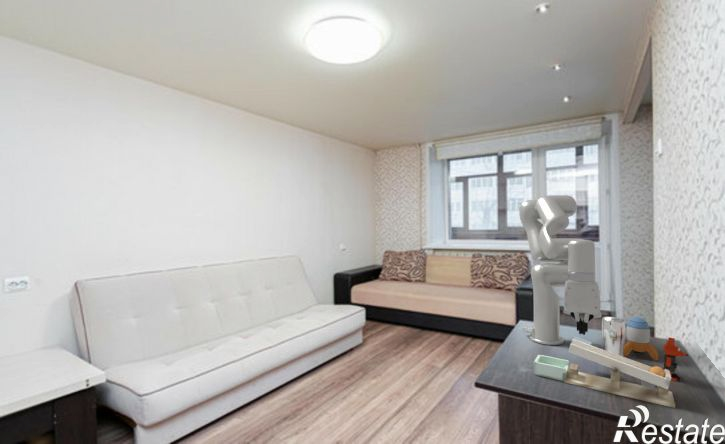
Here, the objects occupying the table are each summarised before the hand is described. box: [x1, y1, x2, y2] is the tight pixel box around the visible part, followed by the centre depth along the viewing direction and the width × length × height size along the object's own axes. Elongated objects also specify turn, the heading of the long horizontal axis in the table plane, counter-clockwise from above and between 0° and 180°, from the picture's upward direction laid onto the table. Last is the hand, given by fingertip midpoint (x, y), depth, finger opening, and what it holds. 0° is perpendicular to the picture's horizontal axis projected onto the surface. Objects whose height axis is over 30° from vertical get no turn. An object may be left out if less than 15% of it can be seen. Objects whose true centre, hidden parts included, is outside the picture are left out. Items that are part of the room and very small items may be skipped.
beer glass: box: [601, 316, 627, 357], centre depth 125 cm, size 7×7×15 cm
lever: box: [568, 336, 672, 390], centre depth 109 cm, size 24×14×5 cm, turn 53°
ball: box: [650, 365, 665, 377], centre depth 100 cm, size 3×3×3 cm
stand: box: [562, 363, 676, 409], centre depth 106 cm, size 26×10×8 cm, turn 53°
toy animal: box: [663, 336, 689, 382], centre depth 111 cm, size 8×6×12 cm
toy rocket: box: [623, 316, 659, 362], centre depth 129 cm, size 10×11×15 cm
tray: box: [533, 354, 570, 382], centre depth 116 cm, size 9×8×4 cm
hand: (582, 333), depth 117 cm, fingers closed
